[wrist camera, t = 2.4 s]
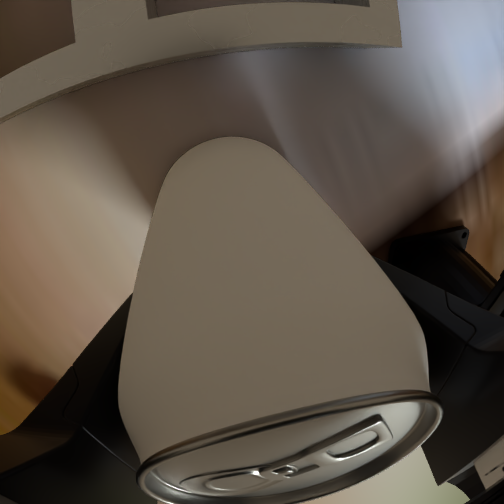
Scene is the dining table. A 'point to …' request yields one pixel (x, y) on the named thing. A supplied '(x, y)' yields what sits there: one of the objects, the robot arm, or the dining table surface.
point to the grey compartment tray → (189, 40)
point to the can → (264, 341)
